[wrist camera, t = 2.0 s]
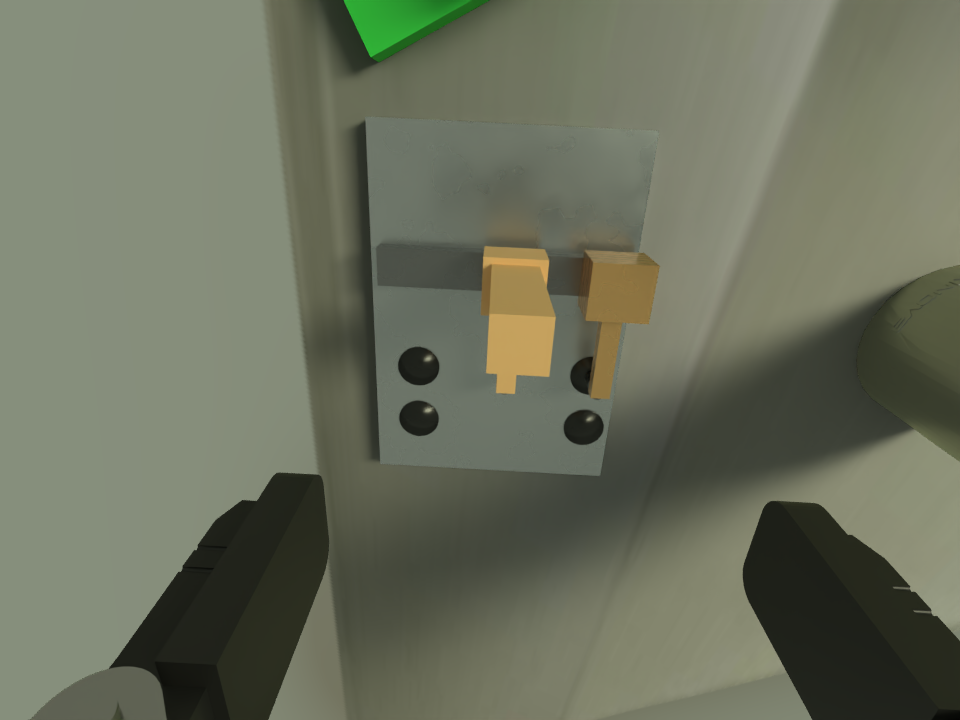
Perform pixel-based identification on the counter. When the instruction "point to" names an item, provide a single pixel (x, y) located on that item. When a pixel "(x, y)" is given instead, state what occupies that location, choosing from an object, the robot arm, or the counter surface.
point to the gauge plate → (458, 285)
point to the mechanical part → (402, 21)
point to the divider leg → (517, 314)
